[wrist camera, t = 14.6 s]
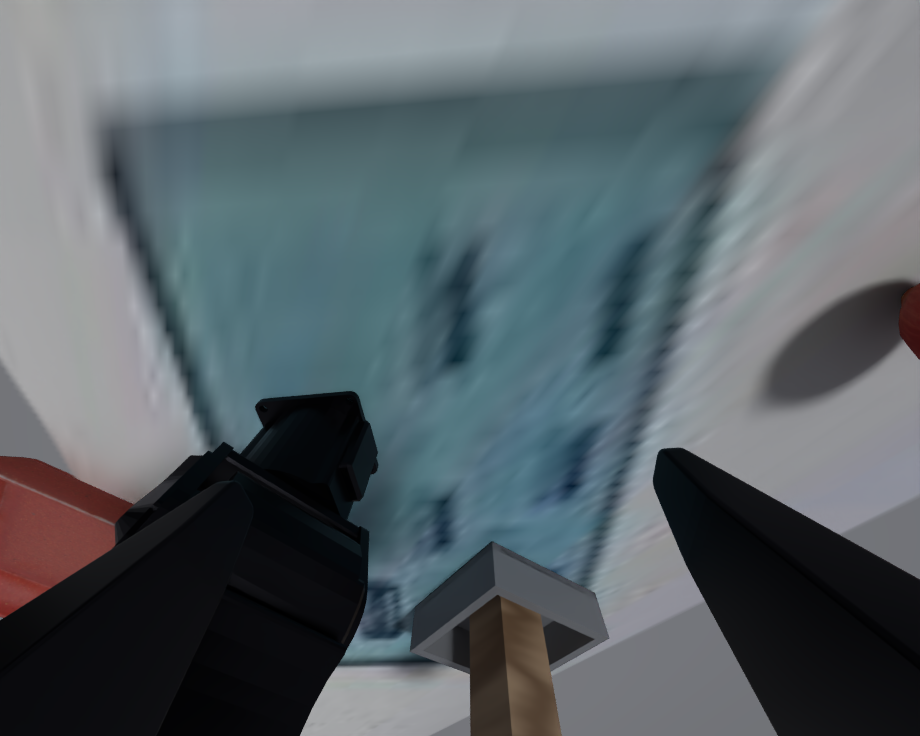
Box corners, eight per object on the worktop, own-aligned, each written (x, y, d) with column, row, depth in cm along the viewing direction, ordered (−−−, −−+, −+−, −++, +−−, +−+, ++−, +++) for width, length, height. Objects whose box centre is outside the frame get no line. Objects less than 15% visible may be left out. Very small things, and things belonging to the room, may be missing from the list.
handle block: (469, 610, 31) (471, 826, 21) (499, 586, 30) (518, 809, 19) (507, 626, 33) (527, 839, 22) (538, 604, 31) (577, 824, 20)
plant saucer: (5, 423, 24) (-60, 456, 21) (252, 537, 29) (228, 577, 26) (-28, 553, 30) (-82, 592, 27) (178, 627, 35) (152, 667, 32)
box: (415, 607, 32) (409, 651, 29) (492, 541, 28) (495, 585, 25) (511, 646, 35) (515, 691, 32) (594, 593, 31) (609, 638, 28)
